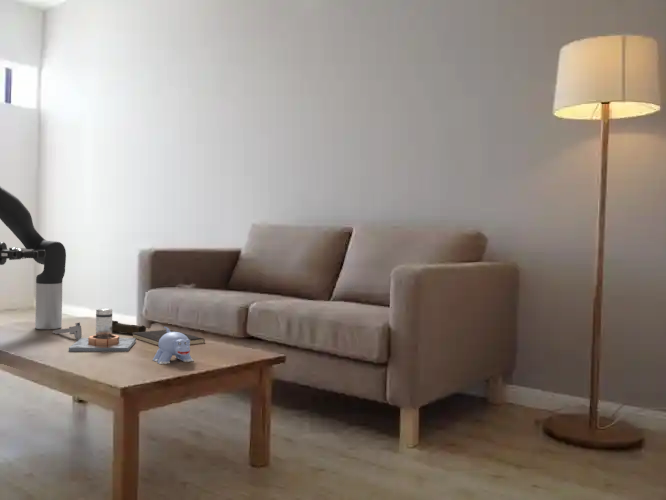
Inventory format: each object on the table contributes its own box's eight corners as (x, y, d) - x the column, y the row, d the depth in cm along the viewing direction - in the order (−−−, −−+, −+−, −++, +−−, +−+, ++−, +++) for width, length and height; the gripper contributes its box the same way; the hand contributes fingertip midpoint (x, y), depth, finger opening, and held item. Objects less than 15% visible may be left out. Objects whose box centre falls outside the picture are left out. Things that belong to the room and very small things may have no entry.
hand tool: (146, 335, 239) (147, 323, 238) (138, 337, 235) (139, 324, 235) (109, 330, 247) (109, 318, 247) (101, 332, 244) (101, 319, 244)
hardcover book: (162, 349, 215) (163, 342, 215) (131, 339, 232) (131, 332, 232) (204, 344, 226) (204, 338, 226) (171, 335, 243) (172, 329, 243)
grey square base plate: (81, 341, 221) (81, 332, 221) (135, 341, 224) (135, 332, 224) (68, 351, 204) (68, 341, 203) (128, 351, 207) (128, 341, 206)
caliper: (81, 341, 224) (82, 323, 224) (78, 341, 223) (79, 323, 223) (54, 333, 238) (55, 316, 237) (51, 333, 237) (52, 316, 236)
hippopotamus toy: (166, 368, 185) (167, 335, 184) (148, 358, 197) (149, 327, 197) (201, 364, 191) (202, 332, 191) (182, 355, 203) (183, 325, 203)
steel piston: (97, 341, 216) (97, 308, 216) (113, 341, 217) (113, 308, 217) (94, 344, 211) (94, 310, 211) (110, 344, 212) (111, 310, 211)
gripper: (-20, 242, 204) (35, 243, 206) (-4, 241, 218) (47, 242, 220) (-20, 266, 204) (35, 267, 207) (-4, 263, 218) (47, 264, 221)
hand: (41, 254), depth 213 cm, fingers open, 8 cm apart
